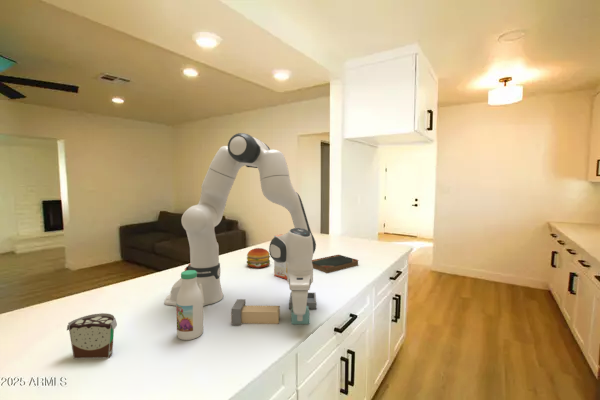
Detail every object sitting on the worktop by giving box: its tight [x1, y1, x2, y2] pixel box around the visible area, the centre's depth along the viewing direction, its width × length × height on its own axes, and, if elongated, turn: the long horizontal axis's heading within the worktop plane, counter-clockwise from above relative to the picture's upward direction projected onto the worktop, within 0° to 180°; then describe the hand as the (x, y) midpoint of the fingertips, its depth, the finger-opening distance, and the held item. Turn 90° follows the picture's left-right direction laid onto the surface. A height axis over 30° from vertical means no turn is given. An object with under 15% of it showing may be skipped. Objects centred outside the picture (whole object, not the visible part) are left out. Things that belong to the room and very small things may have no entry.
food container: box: [66, 312, 118, 360], centre depth 82 cm, size 12×6×10 cm, turn 92°
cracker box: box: [273, 234, 288, 280], centre depth 145 cm, size 14×6×21 cm, turn 47°
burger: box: [246, 247, 271, 269], centre depth 166 cm, size 13×14×10 cm
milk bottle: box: [175, 270, 204, 341], centre depth 91 cm, size 8×8×20 cm
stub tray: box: [288, 291, 317, 310], centre depth 115 cm, size 10×10×2 cm
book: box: [312, 254, 359, 274], centre depth 166 cm, size 17×4×25 cm
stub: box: [290, 306, 310, 325], centre depth 101 cm, size 6×5×4 cm
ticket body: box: [230, 298, 281, 326], centre depth 101 cm, size 16×8×6 cm, turn 89°
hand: (300, 315), depth 101 cm, fingers closed on stub, 5 cm apart
